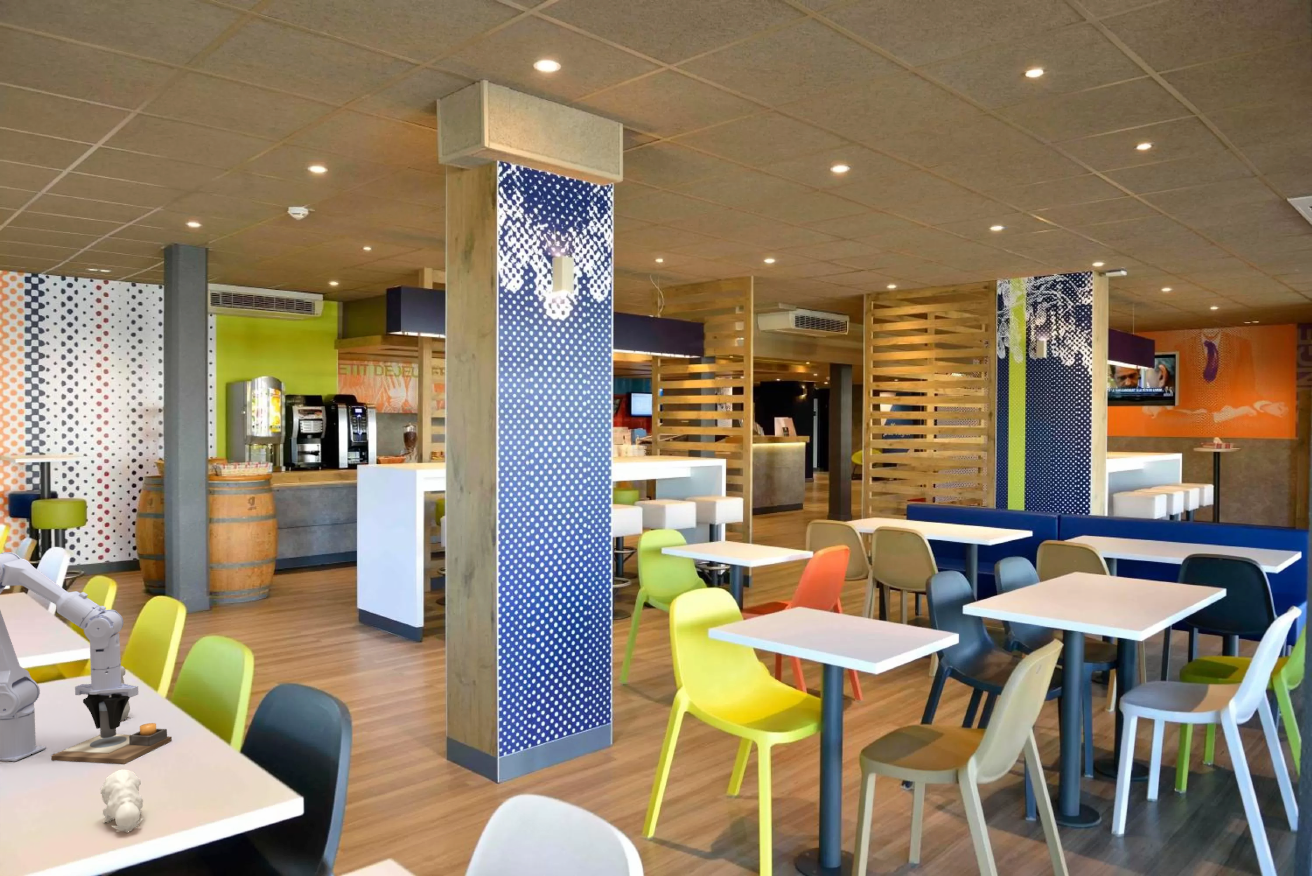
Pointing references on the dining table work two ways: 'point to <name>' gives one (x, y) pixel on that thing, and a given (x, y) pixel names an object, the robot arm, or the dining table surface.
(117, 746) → the board
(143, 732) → the button
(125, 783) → the white crouching figurine
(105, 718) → the cylinder
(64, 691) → the dining table surface
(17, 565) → the robot arm
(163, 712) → the dining table surface
